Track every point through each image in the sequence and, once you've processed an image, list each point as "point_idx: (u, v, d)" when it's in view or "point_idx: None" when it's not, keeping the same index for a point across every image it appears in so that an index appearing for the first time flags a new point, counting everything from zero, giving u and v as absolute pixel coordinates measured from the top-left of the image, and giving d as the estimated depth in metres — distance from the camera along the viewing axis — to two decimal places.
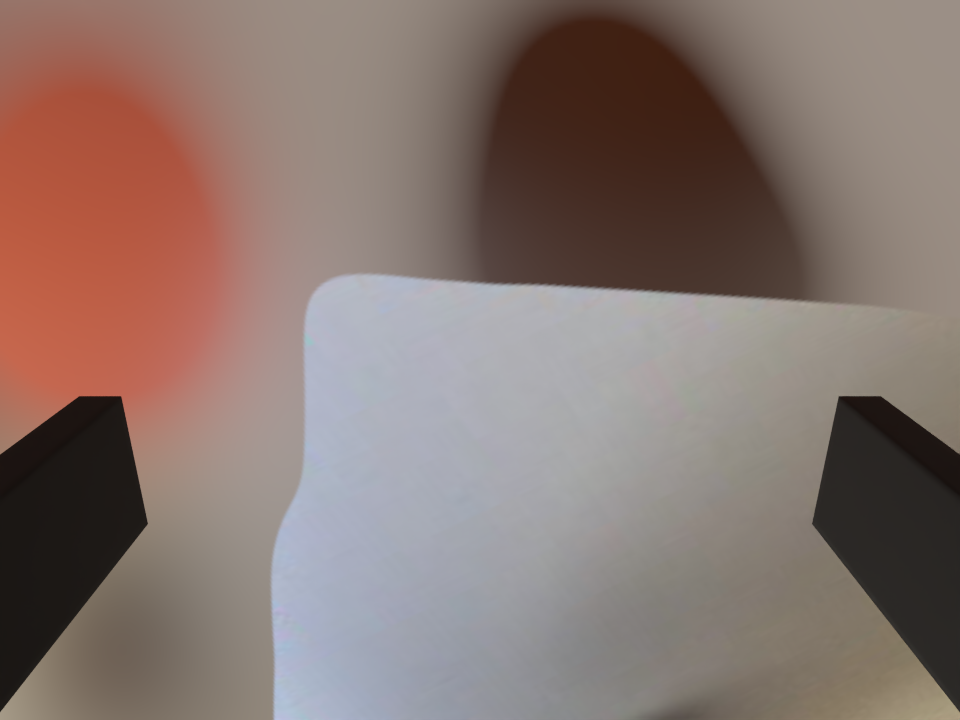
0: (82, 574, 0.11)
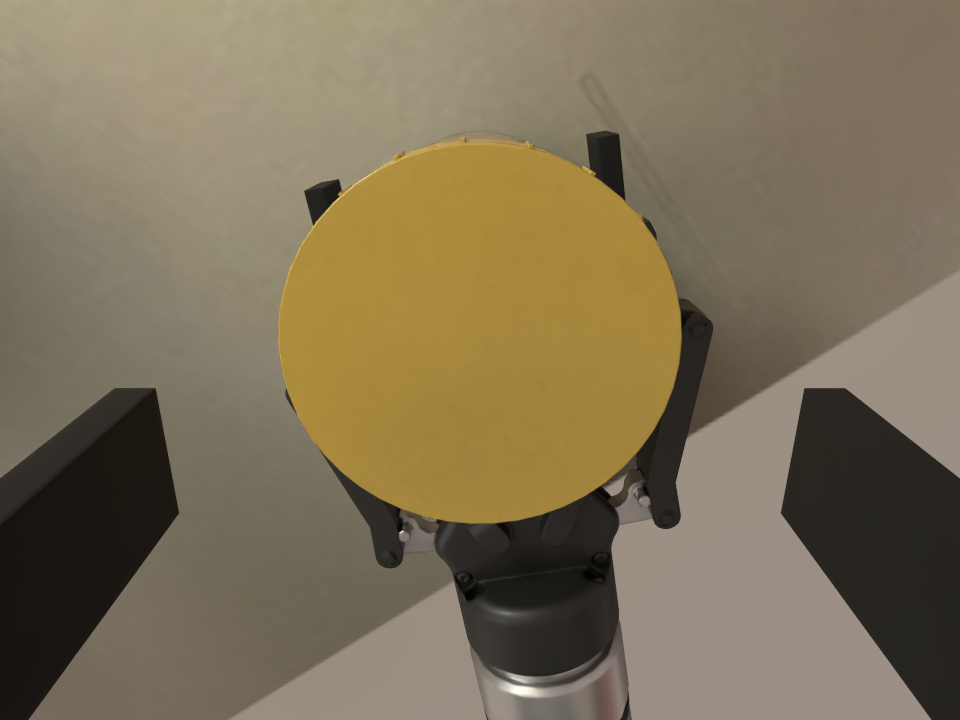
0: (121, 560, 0.11)
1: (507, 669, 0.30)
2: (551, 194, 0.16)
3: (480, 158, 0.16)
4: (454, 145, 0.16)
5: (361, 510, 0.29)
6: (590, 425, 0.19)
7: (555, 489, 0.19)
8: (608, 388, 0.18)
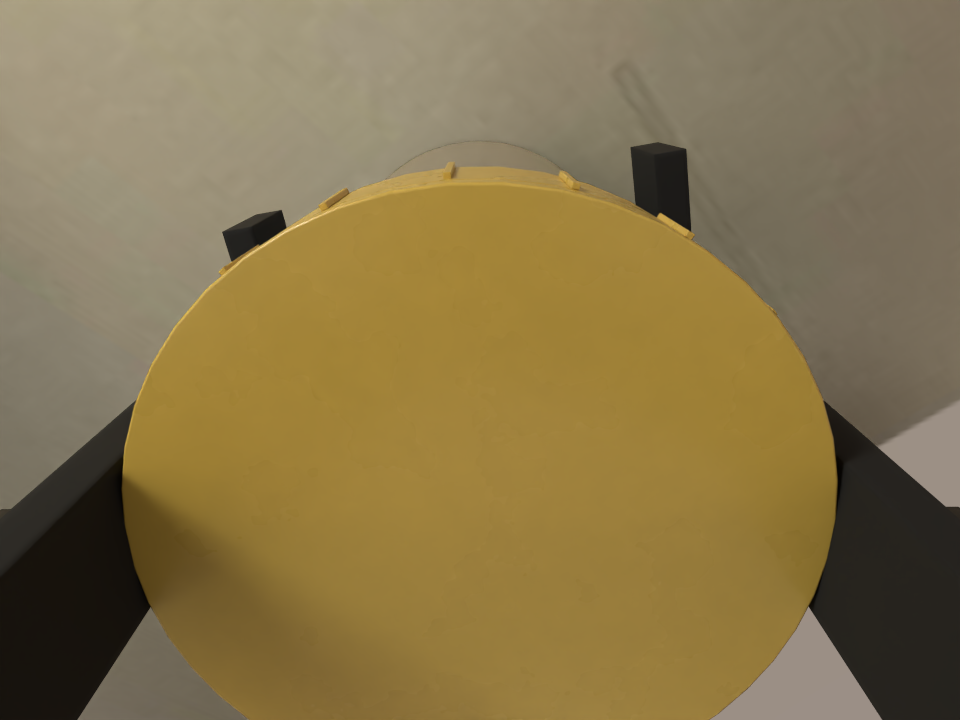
0: None
1: None
2: (614, 276, 0.09)
3: (481, 210, 0.08)
4: (431, 185, 0.08)
5: None
6: (668, 652, 0.11)
7: None
8: (702, 597, 0.11)
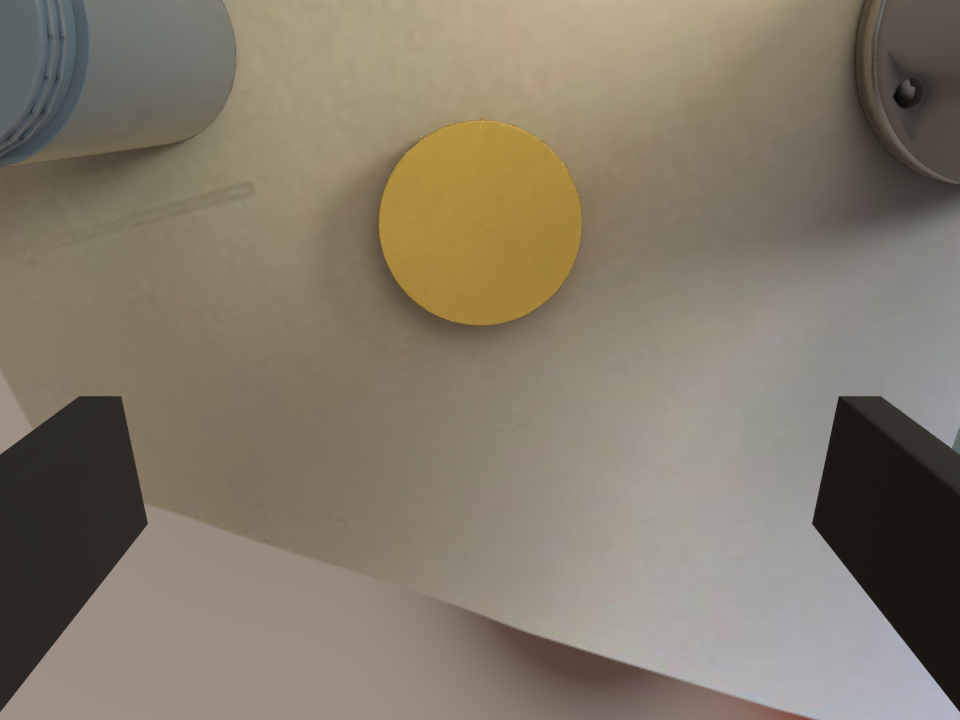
0: (82, 574, 0.11)
1: None
2: (403, 187, 0.35)
3: (385, 219, 0.35)
4: (379, 230, 0.36)
5: None
6: (527, 173, 0.34)
7: (564, 194, 0.35)
8: (506, 162, 0.34)
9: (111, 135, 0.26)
